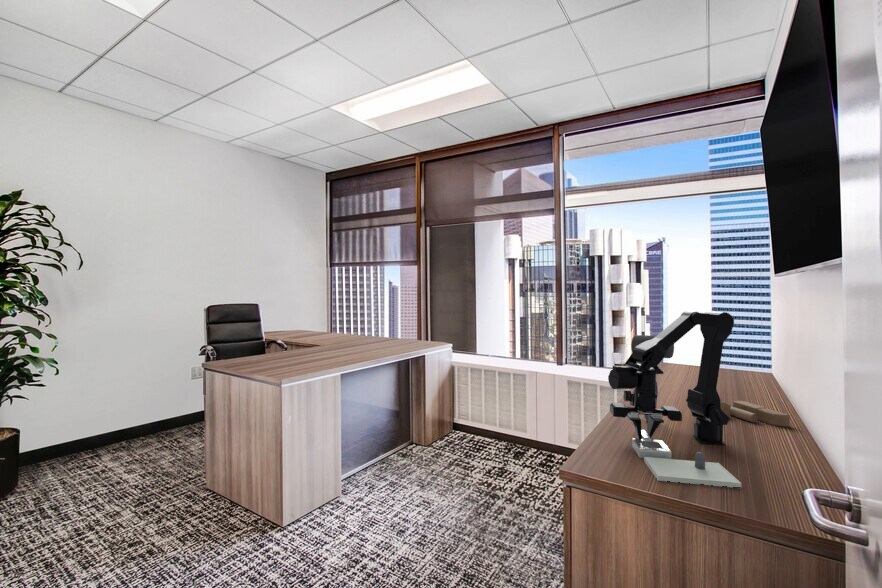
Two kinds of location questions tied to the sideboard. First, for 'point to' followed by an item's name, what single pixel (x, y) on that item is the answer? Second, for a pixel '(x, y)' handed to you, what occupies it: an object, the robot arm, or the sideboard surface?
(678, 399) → the sideboard surface
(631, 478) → the sideboard surface
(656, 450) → the steel link
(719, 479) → the keeper board
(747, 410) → the wooden block set
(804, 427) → the sideboard surface
